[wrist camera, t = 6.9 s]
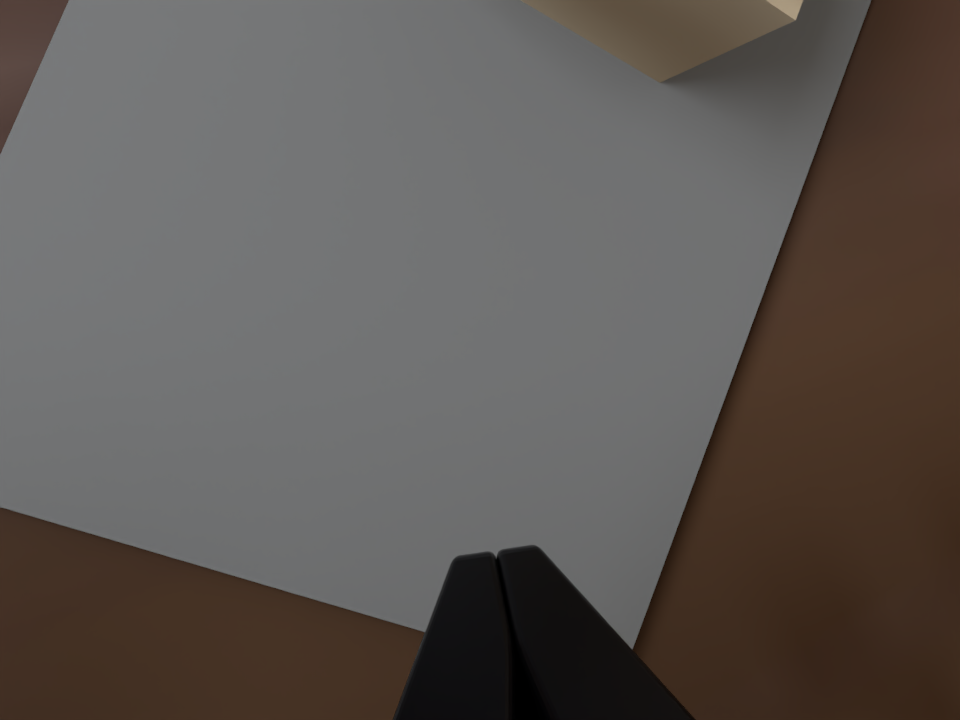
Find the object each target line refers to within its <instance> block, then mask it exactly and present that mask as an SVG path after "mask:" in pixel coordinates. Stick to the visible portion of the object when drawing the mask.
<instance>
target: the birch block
mask: <svg viewBox="0 0 960 720" xmlns="http://www.w3.org/2000/svg"><path fill="white" fill-rule="evenodd" d="M521 1H522V2H524V3H526V4H528V5H529V6H531V7H533V8H534V9H536V10H538V11H539V12H541V13H543V14H544V15H546V16H548V17H549V18H551V19H553V20H555V21H556V22H558V23H560V24H561V25H563V26H565V27H566V28H568V29H570V30H571V31H573V32H575V33H576V34H578V35H580V36H582V37H583V38H585V39H587V40H588V41H590V42H592V43H593V44H595V45H597V46H598V47H600V48H602V49H603V50H605V51H607V52H609V53H610V54H612V55H614V56H615V57H617V58H619V59H620V60H622V61H624V62H625V63H627V64H629V65H631V66H632V67H634V68H636V69H637V70H639V71H641V72H642V73H644V74H646V75H647V76H649V77H651V78H652V79H654V80H656V81H658V82H659V83H660V82H663V81H665V80H667V79H669V78H671V77H673V76H676V75H678V74H680V73H682V72H684V71H686V70H689V69H691V68H693V67H695V66H697V65H700V64H702V63H704V62H706V61H708V60H710V59H713V58H715V57H717V56H719V55H721V54H724V53H726V52H728V51H730V50H732V49H734V48H737V47H739V46H741V45H743V44H745V43H747V42H750V41H752V40H754V39H756V38H758V37H761V36H763V35H765V34H767V33H769V32H771V31H774V30H776V29H778V28H780V27H782V26H785V25H787V24H789V23H791V22H793V21H795V20H796V18H797V16H798V13H799V10H800V8H801V5H802V2H803V0H521Z"/></svg>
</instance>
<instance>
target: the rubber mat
mask: <svg viewBox="0 0 960 720" xmlns="http://www.w3.org/2000/svg"><path fill="white" fill-rule="evenodd" d="M870 2H871V0H803V2H802V5H801V8H800V10H799V13H798V16H797V18H796V20H795V21H793V22H791V23H789V24H787V25H785V26H782V27H780V28H778V29H776V30H774V31H771V32H769V33H767V34H765V35H763V36H761V37H758V38H756V39H754V40H752V41H750V42H747V43H745V44H743V45H741V46H739V47H737V48H734V49H732V50H730V51H728V52H726V53H724V54H721V55H719V56H717V57H715V58H713V59H710V60H708V61H706V62H704V63H702V64H700V65H697V66H695V67H693V68H691V69H689V70H686V71H684V72H682V73H680V74H678V75H676V76H673V77H671V78H669V79H667V80H665V81H663V82H660V83H659V82H658V81H656V80H654V79H652V78H651V77H649V76H647V75H646V74H644V73H642V72H641V71H639V70H637V69H636V68H634V67H632V66H631V65H629V64H627V63H625V62H624V61H622V60H620V59H619V58H617V57H615V56H614V55H612V54H610V53H609V52H607V51H605V50H603V49H602V48H600V47H598V46H597V45H595V44H593V43H592V42H590V41H588V40H587V39H585V38H583V37H582V36H580V35H578V34H576V33H575V32H573V31H571V30H570V29H568V28H566V27H565V26H563V25H561V24H560V23H558V22H556V21H555V20H553V19H551V18H549V17H548V16H546V15H544V14H543V13H541V12H539V11H538V10H536V9H534V8H533V7H531V6H529V5H528V4H526V3H524V2H522V1H521V0H69V2H68V4H67V6H66V8H65V11H64V13H63V15H62V17H61V20H60V22H59V24H58V26H57V29H56V31H55V33H54V35H53V38H52V40H51V42H50V44H49V47H48V49H47V51H46V53H45V56H44V58H43V60H42V62H41V65H40V67H39V69H38V71H37V74H36V76H35V78H34V80H33V83H32V85H31V87H30V89H29V92H28V94H27V96H26V98H25V101H24V103H23V105H22V107H21V110H20V112H19V114H18V116H17V119H16V121H15V123H14V125H13V128H12V130H11V132H10V134H9V137H8V139H7V141H6V143H5V146H4V148H3V150H2V152H1V155H0V507H2V508H5V509H9V510H12V511H15V512H19V513H22V514H26V515H29V516H32V517H36V518H39V519H43V520H46V521H49V522H53V523H56V524H60V525H63V526H66V527H70V528H73V529H77V530H80V531H83V532H87V533H90V534H94V535H97V536H100V537H104V538H107V539H111V540H114V541H117V542H121V543H124V544H128V545H131V546H134V547H138V548H141V549H144V550H148V551H151V552H155V553H158V554H161V555H165V556H168V557H172V558H175V559H178V560H182V561H185V562H189V563H192V564H195V565H199V566H202V567H206V568H209V569H212V570H216V571H219V572H223V573H226V574H229V575H233V576H236V577H240V578H243V579H246V580H250V581H253V582H257V583H260V584H263V585H267V586H270V587H274V588H277V589H280V590H284V591H287V592H291V593H294V594H297V595H301V596H304V597H308V598H311V599H314V600H318V601H321V602H325V603H328V604H331V605H335V606H338V607H342V608H345V609H348V610H352V611H355V612H358V613H362V614H365V615H369V616H372V617H375V618H379V619H382V620H386V621H389V622H392V623H396V624H399V625H403V626H406V627H409V628H413V629H416V630H420V631H423V632H425V631H426V628H427V626H428V623H429V620H430V618H431V615H432V612H433V610H434V607H435V604H436V601H437V599H438V596H439V593H440V591H441V588H442V585H443V583H444V580H445V577H446V575H447V572H448V569H449V566H450V564H451V562H452V560H453V559H454V558H455V557H456V556H459V555H465V554H472V553H479V552H486V551H490V552H492V553H494V555H495V556H496V559H497V554H498V552H499V551H500V550H502V549H506V548H513V547H520V546H527V545H536V546H538V547H540V548H541V549H542V550H543V551H544V552H545V553H546V555H547V556H548V557H549V558H550V559H551V560H552V561H553V562H554V563H555V565H556V566H557V567H558V568H559V569H560V570H561V571H562V572H563V573H564V575H565V576H566V577H567V578H568V579H569V580H570V581H571V582H572V583H573V585H574V586H575V587H576V588H577V589H578V590H579V591H580V592H581V593H582V594H583V596H584V597H585V598H586V599H587V600H588V601H589V602H590V603H591V604H592V606H593V607H594V608H595V609H596V610H597V611H598V612H599V613H600V614H601V616H602V617H603V618H604V619H605V620H606V621H607V622H608V623H609V624H610V625H611V627H612V628H613V629H614V630H615V631H616V632H617V633H618V634H619V635H620V637H621V638H622V639H623V640H624V641H625V642H626V643H627V644H628V645H629V647H630V648H631V649H632V650H633V647H634V644H635V641H636V639H637V636H638V633H639V630H640V628H641V625H642V622H643V620H644V617H645V614H646V611H647V609H648V606H649V603H650V601H651V598H652V595H653V592H654V590H655V587H656V584H657V582H658V579H659V576H660V573H661V571H662V568H663V565H664V563H665V560H666V557H667V554H668V552H669V549H670V546H671V543H672V541H673V538H674V535H675V533H676V530H677V527H678V524H679V522H680V519H681V516H682V514H683V511H684V508H685V505H686V503H687V500H688V497H689V495H690V492H691V489H692V486H693V484H694V481H695V478H696V475H697V473H698V470H699V467H700V465H701V462H702V459H703V456H704V454H705V451H706V448H707V446H708V443H709V440H710V437H711V435H712V432H713V429H714V427H715V424H716V421H717V418H718V416H719V413H720V410H721V407H722V405H723V402H724V399H725V397H726V394H727V391H728V388H729V386H730V383H731V380H732V378H733V375H734V372H735V369H736V367H737V364H738V361H739V359H740V356H741V353H742V350H743V348H744V345H745V342H746V339H747V337H748V334H749V331H750V329H751V326H752V323H753V320H754V318H755V315H756V312H757V310H758V307H759V304H760V301H761V299H762V296H763V293H764V291H765V288H766V285H767V282H768V280H769V277H770V274H771V271H772V269H773V266H774V263H775V261H776V258H777V255H778V252H779V250H780V247H781V244H782V242H783V239H784V236H785V233H786V231H787V228H788V225H789V223H790V220H791V217H792V214H793V212H794V209H795V206H796V203H797V201H798V198H799V195H800V193H801V190H802V187H803V184H804V182H805V179H806V176H807V174H808V171H809V168H810V165H811V163H812V160H813V157H814V155H815V152H816V149H817V146H818V144H819V141H820V138H821V135H822V133H823V130H824V127H825V125H826V122H827V119H828V116H829V114H830V111H831V108H832V106H833V103H834V100H835V97H836V95H837V92H838V89H839V87H840V84H841V81H842V78H843V76H844V73H845V70H846V67H847V65H848V62H849V59H850V57H851V54H852V51H853V48H854V46H855V43H856V40H857V38H858V35H859V32H860V29H861V27H862V24H863V21H864V19H865V16H866V13H867V10H868V8H869V5H870Z"/></svg>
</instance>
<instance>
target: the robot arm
mask: <svg viewBox="0 0 960 720" xmlns="http://www.w3.org/2000/svg"><path fill="white" fill-rule="evenodd" d="M393 720H695V719H694V717H693V716H692V715H691V714H690V713H689V712H688V711H687V710H686V709H685V707H684V706H683V705H682V704H681V703H680V702H679V701H678V700H677V699H676V698H675V696H674V695H673V694H672V693H671V692H670V691H669V690H668V689H667V688H666V686H665V685H664V684H663V683H662V682H661V681H660V680H659V679H658V678H657V676H656V675H655V674H654V673H653V672H652V671H651V670H650V669H649V668H648V666H647V665H646V664H645V663H644V662H643V661H642V660H641V659H640V658H639V657H638V655H637V654H636V653H635V652H634V651H633V650H632V649H631V648H630V647H629V645H628V644H627V643H626V642H625V641H624V640H623V639H622V638H621V637H620V635H619V634H618V633H617V632H616V631H615V630H614V629H613V628H612V627H611V625H610V624H609V623H608V622H607V621H606V620H605V619H604V618H603V617H602V616H601V614H600V613H599V612H598V611H597V610H596V609H595V608H594V607H593V606H592V604H591V603H590V602H589V601H588V600H587V599H586V598H585V597H584V596H583V594H582V593H581V592H580V591H579V590H578V589H577V588H576V587H575V586H574V585H573V583H572V582H571V581H570V580H569V579H568V578H567V577H566V576H565V575H564V573H563V572H562V571H561V570H560V569H559V568H558V567H557V566H556V565H555V563H554V562H553V561H552V560H551V559H550V558H549V557H548V556H547V555H546V553H545V552H544V551H543V550H542V549H541V548H540V547H538V546H536V545H527V546H520V547H513V548H506V549H502V550H500V551H499V552H498V554H497V559H496V556H495V555H494V553H492V552H490V551H486V552H479V553H472V554H465V555H459V556H456V557H455V558H454V559H453V560H452V562H451V564H450V566H449V569H448V572H447V575H446V577H445V580H444V583H443V585H442V588H441V591H440V593H439V596H438V599H437V601H436V604H435V607H434V610H433V612H432V615H431V618H430V620H429V623H428V626H427V628H426V631H425V634H424V637H423V639H422V642H421V645H420V647H419V650H418V653H417V655H416V658H415V661H414V663H413V666H412V669H411V672H410V674H409V677H408V680H407V682H406V685H405V688H404V690H403V693H402V696H401V699H400V701H399V704H398V707H397V709H396V712H395V715H394V717H393Z"/></svg>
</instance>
